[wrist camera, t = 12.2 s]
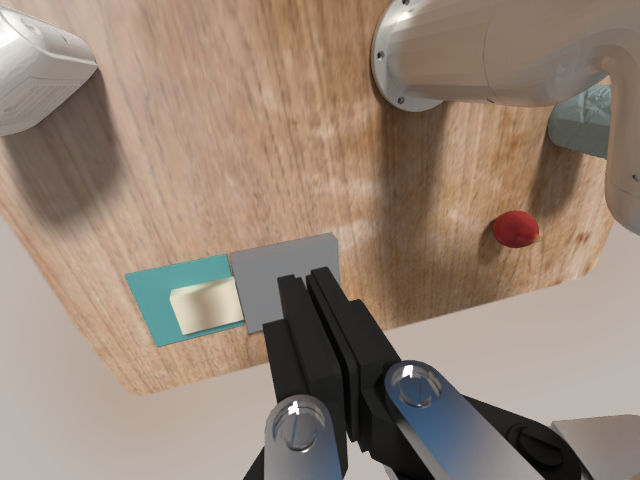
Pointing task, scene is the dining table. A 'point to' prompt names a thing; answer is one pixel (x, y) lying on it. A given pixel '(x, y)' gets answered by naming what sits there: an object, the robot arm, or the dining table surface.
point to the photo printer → (37, 69)
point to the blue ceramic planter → (583, 122)
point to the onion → (516, 229)
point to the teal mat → (156, 290)
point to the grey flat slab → (278, 273)
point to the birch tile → (207, 305)
